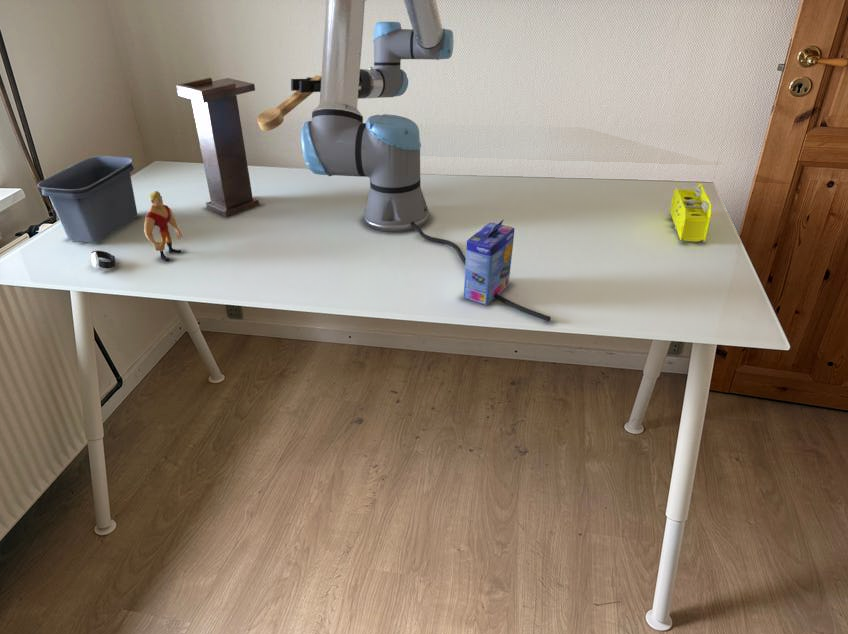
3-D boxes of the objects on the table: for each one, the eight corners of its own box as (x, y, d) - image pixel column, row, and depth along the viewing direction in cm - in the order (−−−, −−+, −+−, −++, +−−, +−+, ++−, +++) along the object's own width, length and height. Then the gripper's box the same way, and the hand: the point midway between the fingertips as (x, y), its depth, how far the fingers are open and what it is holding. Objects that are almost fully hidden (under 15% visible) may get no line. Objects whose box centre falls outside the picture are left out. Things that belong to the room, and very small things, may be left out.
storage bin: (98, 250, 155) (80, 189, 147) (43, 243, 159) (22, 184, 151) (153, 214, 171) (139, 158, 163) (102, 209, 176) (85, 154, 168)
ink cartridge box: (488, 306, 126) (492, 234, 118) (462, 299, 129) (464, 228, 121) (511, 284, 133) (516, 214, 125) (486, 278, 136) (489, 209, 128)
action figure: (163, 266, 146) (147, 199, 138) (150, 264, 148) (132, 197, 139) (189, 248, 154) (175, 183, 145) (176, 246, 155) (161, 182, 146)
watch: (87, 263, 150) (83, 247, 147) (108, 256, 152) (104, 241, 150) (101, 274, 145) (96, 258, 142) (122, 267, 147) (117, 252, 145)
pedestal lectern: (246, 193, 181) (227, 73, 164) (271, 202, 174) (253, 79, 158) (201, 208, 173) (175, 84, 156) (225, 219, 167) (201, 91, 150)
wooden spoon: (313, 80, 179) (310, 72, 178) (330, 83, 175) (327, 75, 174) (255, 128, 172) (251, 120, 170) (270, 132, 168) (267, 124, 166)
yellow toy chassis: (706, 245, 144) (715, 207, 139) (678, 243, 145) (686, 206, 140) (694, 215, 157) (702, 180, 152) (667, 214, 158) (675, 179, 153)
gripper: (343, 65, 190) (276, 66, 175) (384, 72, 181) (316, 73, 166) (342, 94, 194) (276, 97, 178) (381, 102, 185) (316, 106, 169)
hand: (296, 85), depth 172 cm, fingers closed on wooden spoon, 3 cm apart
